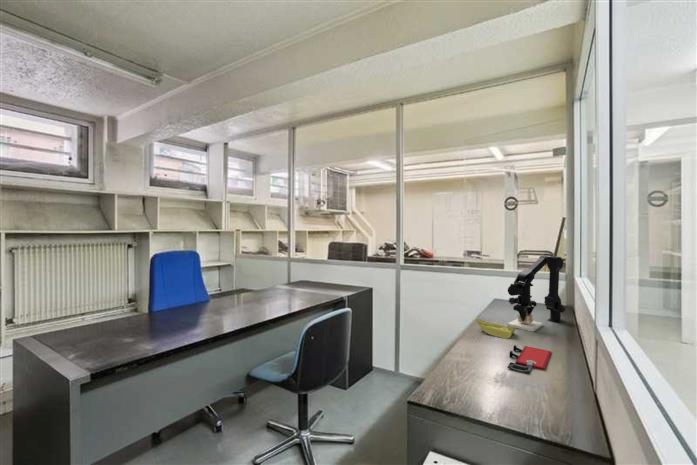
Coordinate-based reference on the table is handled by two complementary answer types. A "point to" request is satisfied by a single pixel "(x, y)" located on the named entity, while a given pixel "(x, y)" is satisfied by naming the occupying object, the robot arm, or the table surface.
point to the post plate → (525, 325)
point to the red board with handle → (529, 359)
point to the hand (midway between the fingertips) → (525, 319)
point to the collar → (526, 319)
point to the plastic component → (496, 329)
